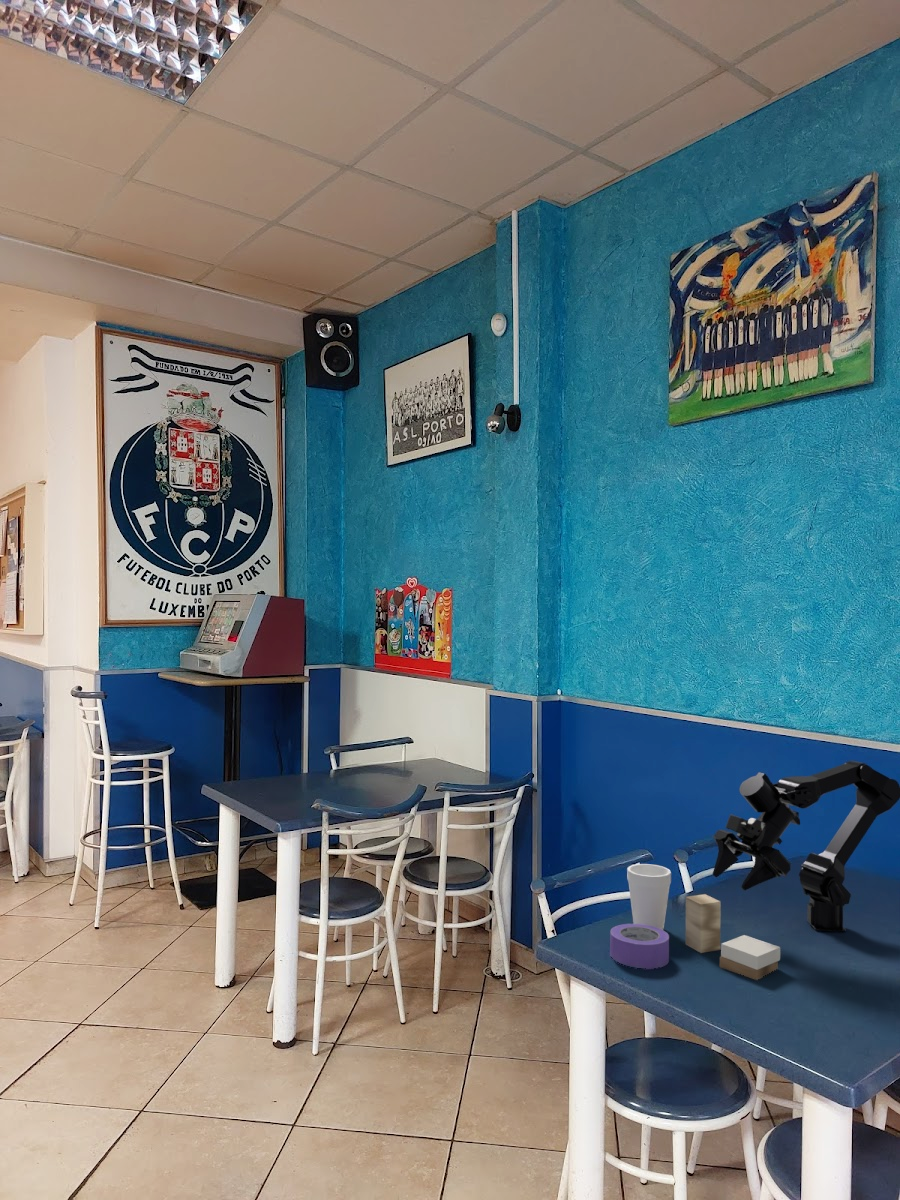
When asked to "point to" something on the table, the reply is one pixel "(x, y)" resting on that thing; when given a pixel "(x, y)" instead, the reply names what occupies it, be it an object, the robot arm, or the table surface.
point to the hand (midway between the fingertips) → (728, 882)
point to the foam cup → (649, 893)
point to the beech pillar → (703, 923)
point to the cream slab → (750, 952)
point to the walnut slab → (747, 968)
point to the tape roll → (639, 945)
